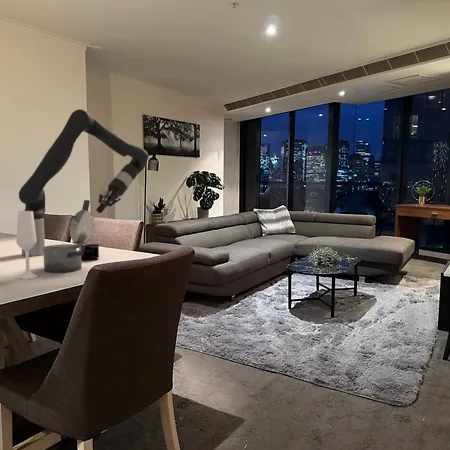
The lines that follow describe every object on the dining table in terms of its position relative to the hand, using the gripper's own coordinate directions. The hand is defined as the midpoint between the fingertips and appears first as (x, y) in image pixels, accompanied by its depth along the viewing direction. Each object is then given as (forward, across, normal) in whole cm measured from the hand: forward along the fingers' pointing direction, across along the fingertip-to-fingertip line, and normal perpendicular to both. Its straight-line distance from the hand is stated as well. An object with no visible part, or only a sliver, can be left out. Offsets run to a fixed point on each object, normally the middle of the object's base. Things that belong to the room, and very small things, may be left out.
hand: (98, 211), depth 173 cm
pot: (+28, 0, +4) cm, 28 cm away
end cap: (+15, -10, +17) cm, 25 cm away
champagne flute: (+39, +2, -7) cm, 40 cm away
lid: (+9, 0, -3) cm, 9 cm away
